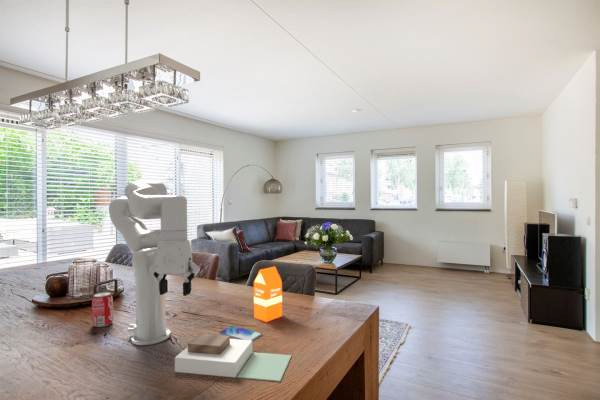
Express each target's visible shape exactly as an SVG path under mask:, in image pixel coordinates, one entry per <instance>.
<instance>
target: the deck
mask: <svg viewBox="0 0 600 400" xmlns="http://www.w3.org/2000/svg"><path fill="white" fill-rule="evenodd" d="M253 353H254V351H253V341H252V340H240V339H235V338H230V344H229V345H228V347H227V348H226V349H225V350H224V351H223V352H222V353H221V354H220V355H215V354H203V353H191V352H188V346H187V347H185V348H184V349H183V350H182V351H181V352H180V353H179V354H177V355H176V356H175V357H174V372H175V373H184V374H194V375H195V374H196V375H204V376H205V375H207V376H214V377H215V376H216V377H225V378H226V377H227V378H237V376H238V375H239V373H240V372H241V370H242V369H243V367H244V366H245V364H246V363H247V362H248V360H249V359H250V357H251V356H252V354H253Z"/></svg>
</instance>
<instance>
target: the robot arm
mask: <svg viewBox="0 0 600 400" xmlns="http://www.w3.org/2000/svg"><path fill="white" fill-rule="evenodd" d="M123 193H124V195H125V196H120V197H117V198H114V199H113V200H111V201H110V203H109V206H108V214H109V218H110V220H111V222H112V223H111V224H112V225H113V226H114V227H115V229H116V230H117V231H118V232H119V233H120V234H121V235H122V237H123V239H124V241H125V244H126V246H127V248H128V250H129V251H130V253H131V254H133V255H132V257H131V265H132V270H133V277H134V284H135V285H134V286H135V287H134V288H135V323H130V324H129V325H128V328H127V330H126V331H127V333H133V335H132V336H131V339H130V341H131V342H130V343H132V344H133V345H136V346H149V345H150V346H151V345H155V344H159V343H161V342H164V341H165V340H167V339H169V338H170V337H171V335H172V332H171V330H170V329H169V328H167V317H166V315H167V312H166V310H167V309H166V305H167V304H166V303H167V302H166V294H168V281H169V280H168V278H167V277H168V275H169V276H170V275H173V276H174V275H175V276H180V275H181V277H182V278H183V281H184V282H182V295H183V297H187V296H188V295H190V294H191V292H192V281H193V279H195V277H196V276H197V275H198V274H199V272H200V270H201V267H199V266H198V265H197V264H196V263H195V262H194V260H193V251H192V246H191V243H190V239H188V204H187V203H188V201H187V198H186V196H185V195H171V194H168V189H167V186H166V185H165V184H164V182H161V181H157V180H135V181H131V182H129V183H128V184H126V186H125V187H124V191H123ZM158 219H159V220H160V228H159V229H148V228H147V226H146V225H145V223H143V222H142V221H141V220H158ZM191 271H192V272H191ZM166 278H167V279H166Z"/></svg>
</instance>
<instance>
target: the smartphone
mask: <svg viewBox="0 0 600 400" xmlns="http://www.w3.org/2000/svg"><path fill="white" fill-rule="evenodd" d="M218 333H219V334H218V335H225V336H230V338H231V339H240V340H252V342H254V341H256V340H257V339H259V338H261V337H263V333H262V332H259V331H254V330H250V329H246V328H243V327H240V326H236V325H231V326H228V327H227V328H224V329H222V330H220V331H219V332H218Z"/></svg>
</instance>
